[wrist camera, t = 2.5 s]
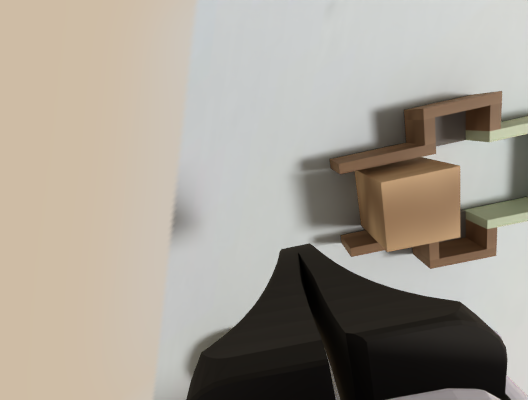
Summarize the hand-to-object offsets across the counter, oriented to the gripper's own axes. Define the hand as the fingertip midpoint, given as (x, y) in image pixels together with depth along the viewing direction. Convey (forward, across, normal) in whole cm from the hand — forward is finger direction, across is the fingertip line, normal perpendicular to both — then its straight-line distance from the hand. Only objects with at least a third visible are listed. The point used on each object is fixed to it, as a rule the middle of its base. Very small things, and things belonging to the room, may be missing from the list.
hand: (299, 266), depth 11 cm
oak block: (+7, -7, 0) cm, 10 cm away
